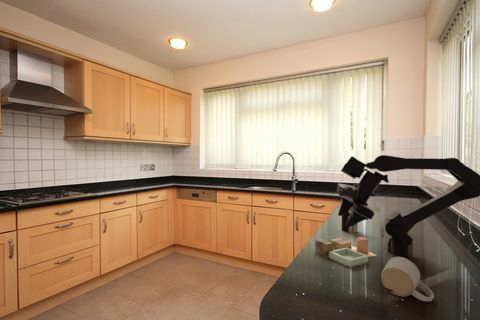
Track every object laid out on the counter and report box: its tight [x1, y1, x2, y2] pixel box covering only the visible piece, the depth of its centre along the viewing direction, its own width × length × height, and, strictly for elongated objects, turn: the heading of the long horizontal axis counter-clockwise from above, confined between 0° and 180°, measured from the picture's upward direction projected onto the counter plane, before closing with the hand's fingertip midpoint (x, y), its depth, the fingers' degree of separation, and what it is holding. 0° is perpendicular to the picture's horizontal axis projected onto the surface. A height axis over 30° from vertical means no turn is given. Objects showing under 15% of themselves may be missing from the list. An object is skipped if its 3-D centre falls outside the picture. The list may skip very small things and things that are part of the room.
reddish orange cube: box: [356, 237, 369, 254], centre depth 85 cm, size 4×4×4 cm
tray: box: [328, 248, 369, 268], centre depth 78 cm, size 8×8×2 cm
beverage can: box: [341, 208, 358, 234], centre depth 111 cm, size 7×7×12 cm
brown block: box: [314, 238, 333, 258], centre depth 83 cm, size 5×3×4 cm, turn 27°
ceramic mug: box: [380, 256, 435, 302], centre depth 61 cm, size 11×8×8 cm
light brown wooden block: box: [329, 237, 352, 250], centre depth 87 cm, size 5×5×3 cm
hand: (342, 220), depth 91 cm, fingers open, 9 cm apart
